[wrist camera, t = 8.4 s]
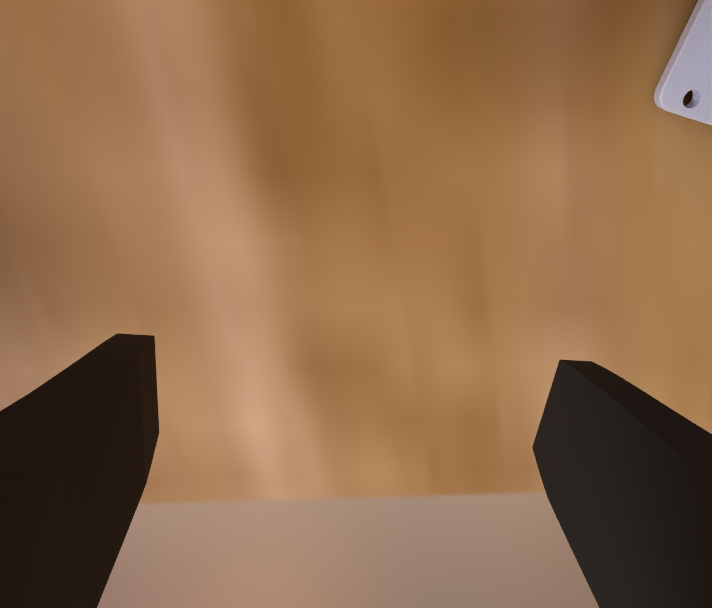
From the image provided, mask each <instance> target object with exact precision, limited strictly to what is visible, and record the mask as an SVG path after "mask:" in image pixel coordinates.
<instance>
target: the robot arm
mask: <svg viewBox="0 0 712 608" xmlns="http://www.w3.org/2000/svg"><path fill="white" fill-rule="evenodd" d="M690 90H692V93H693V97H692V100H691V101H690V103H689V104H687V105H685V106H684V105H683V98H684V96H685V94H686V93H687V92H689V91H690ZM654 101H655V103H656V105H657V107H659V108H661V109H662V110H665V111H668V112H672V113H675V114H678V115H681V116H684V117H687V118H690V119H693V120H696V121H699V122H703V123H706V124H709V125H712V0H698V2H697V4H696V6H695V8H694V10H693V12H692V14H691V16H690V18H689V21H688V23H687V25H686V27H685V29H684V31H683V33H682V35H681V37H680V39H679V41H678V43H677V46H676V48H675V50H674V52H673V54H672V56H671V58H670V60H669V62H668V64H667V66H666V68H665V70H664V73H663V75H662V77H661V79H660V81H659V83H658V85H657V87H656V90H655V93H654ZM158 435H159V419H158V399H157V379H156V359H155V339H154V336H149V335H132V334H116V335H114V336H113V337H111V338H109V339H108V340H106V341H105V342H103V343H102V344H100V345H99V346H98V347H96V348H95V349H93V350H92V351H90V352H89V353H88V354H86V355H85V356H83V357H82V358H80V359H79V360H78V361H76V362H75V363H73V364H72V365H70V366H69V367H68V368H66V369H65V370H63V371H62V372H60V373H59V374H57V375H56V376H54V377H53V378H51V379H50V380H48V381H47V382H46V383H44V384H43V385H41V386H40V387H38V388H37V389H35V390H34V391H32V392H31V393H29V394H28V395H26V396H24V397H23V398H21V399H19V400H18V401H16V402H15V403H13V404H11V405H10V406H8V407H6V408H5V409H3V410H2V411H0V608H97V606H98V603H99V601H100V598H101V596H102V593H103V591H104V588H105V586H106V584H107V581H108V579H109V576H110V573H111V571H112V569H113V566H114V564H115V561H116V559H117V556H118V554H119V551H120V549H121V546H122V543H123V541H124V539H125V536H126V534H127V531H128V529H129V526H130V524H131V521H132V519H133V516H134V513H135V511H136V508H137V506H138V503H139V501H140V498H141V496H142V493H143V490H144V488H145V485H146V482H147V478H148V475H149V471H150V467H151V463H152V459H153V455H154V451H155V447H156V443H157V439H158ZM532 448H533V451H534V455H535V458H536V462H537V465H538V469H539V472H540V475H541V478H542V481H543V485H544V488H545V491H546V494H547V497H548V499H549V501H550V503H551V506H552V508H553V510H554V512H555V514H556V517H557V519H558V521H559V523H560V525H561V527H562V529H563V532H564V534H565V536H566V538H567V540H568V542H569V544H570V547H571V549H572V551H573V553H574V555H575V557H576V559H577V561H578V563H579V566H580V568H581V570H582V572H583V574H584V576H585V578H586V580H587V582H588V584H589V587H590V588H591V591H592V593H593V595H594V597H595V599H596V601H597V603H598V606H599V608H712V434H710V433H709V432H707V431H706V430H704V429H702V428H701V427H699V426H697V425H696V424H694V423H693V422H691V421H689V420H688V419H686V418H685V417H683V416H681V415H680V414H678V413H677V412H675V411H674V410H672V409H670V408H669V407H667V406H666V405H664V404H662V403H661V402H659V401H658V400H656V399H655V398H653V397H651V396H650V395H648V394H647V393H645V392H644V391H642V390H640V389H639V388H637V387H636V386H634V385H632V384H631V383H629V382H628V381H626V380H624V379H623V378H621V377H619V376H618V375H616V374H614V373H613V372H611V371H609V370H607V369H605V368H604V367H602V366H600V365H598V364H596V363H594V362H591V361H574V360H560V361H559V364H558V367H557V370H556V373H555V377H554V380H553V383H552V386H551V389H550V393H549V396H548V399H547V402H546V406H545V409H544V412H543V415H542V418H541V422H540V425H539V428H538V431H537V435H536V438H535V441H534V444H533V447H532Z"/></svg>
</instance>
